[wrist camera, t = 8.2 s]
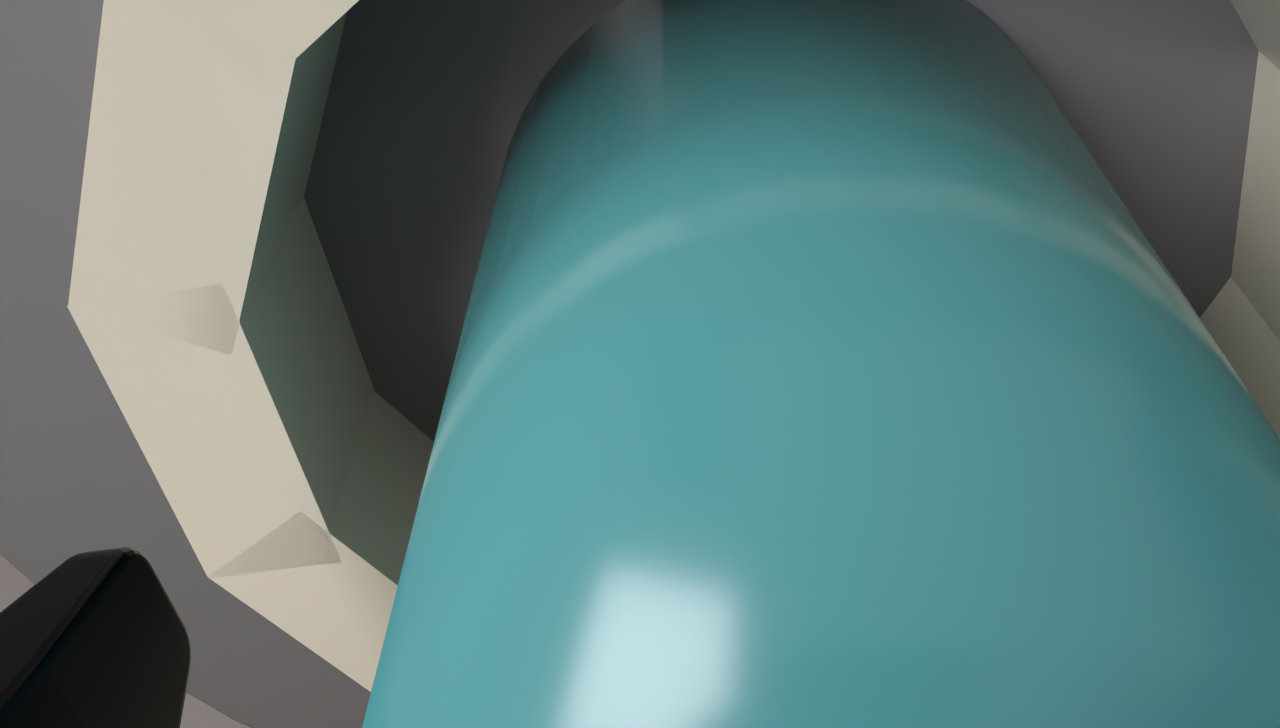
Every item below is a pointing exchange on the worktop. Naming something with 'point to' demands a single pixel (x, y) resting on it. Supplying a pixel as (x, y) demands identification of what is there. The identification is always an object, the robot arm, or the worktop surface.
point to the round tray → (411, 275)
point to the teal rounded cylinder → (829, 408)
